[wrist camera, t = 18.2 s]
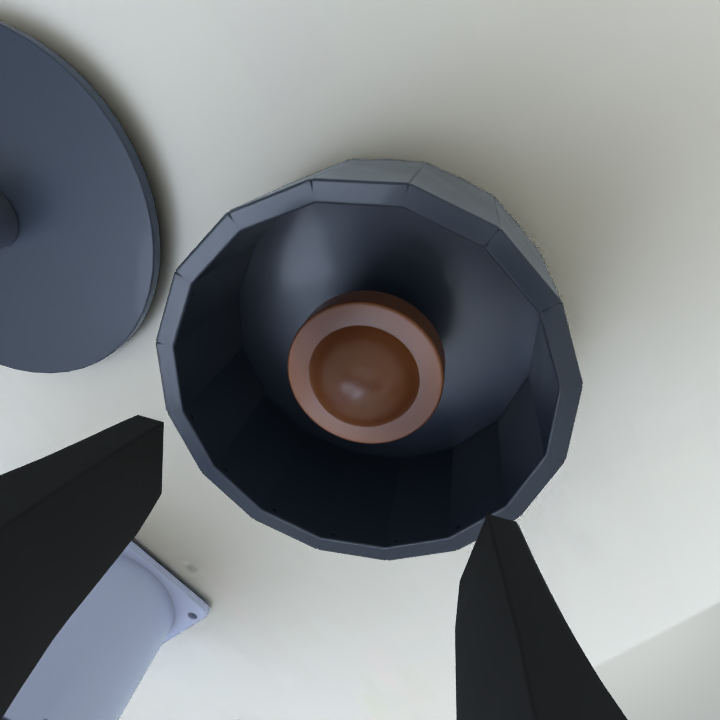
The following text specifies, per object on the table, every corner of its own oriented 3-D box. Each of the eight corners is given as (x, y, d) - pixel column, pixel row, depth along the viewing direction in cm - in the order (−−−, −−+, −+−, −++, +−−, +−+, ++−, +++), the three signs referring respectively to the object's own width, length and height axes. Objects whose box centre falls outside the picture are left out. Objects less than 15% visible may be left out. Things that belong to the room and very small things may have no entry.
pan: (374, 507, 24) (350, 607, 19) (171, 310, 22) (86, 369, 17) (623, 352, 19) (674, 436, 14) (393, 72, 17) (361, 60, 12)
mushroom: (377, 415, 22) (354, 492, 17) (289, 325, 21) (241, 383, 16) (477, 342, 20) (478, 410, 15) (384, 239, 19) (358, 280, 14)
